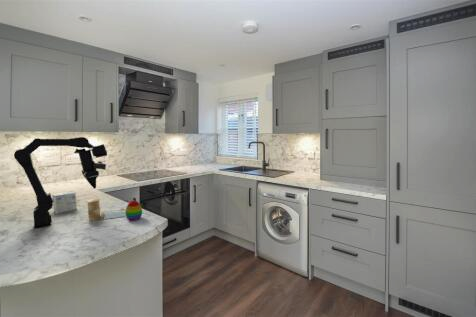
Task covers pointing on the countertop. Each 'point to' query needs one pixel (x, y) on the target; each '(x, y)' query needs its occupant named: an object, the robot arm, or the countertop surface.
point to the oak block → (93, 209)
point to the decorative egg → (133, 210)
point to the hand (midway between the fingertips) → (93, 187)
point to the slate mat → (112, 215)
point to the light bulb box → (64, 202)
